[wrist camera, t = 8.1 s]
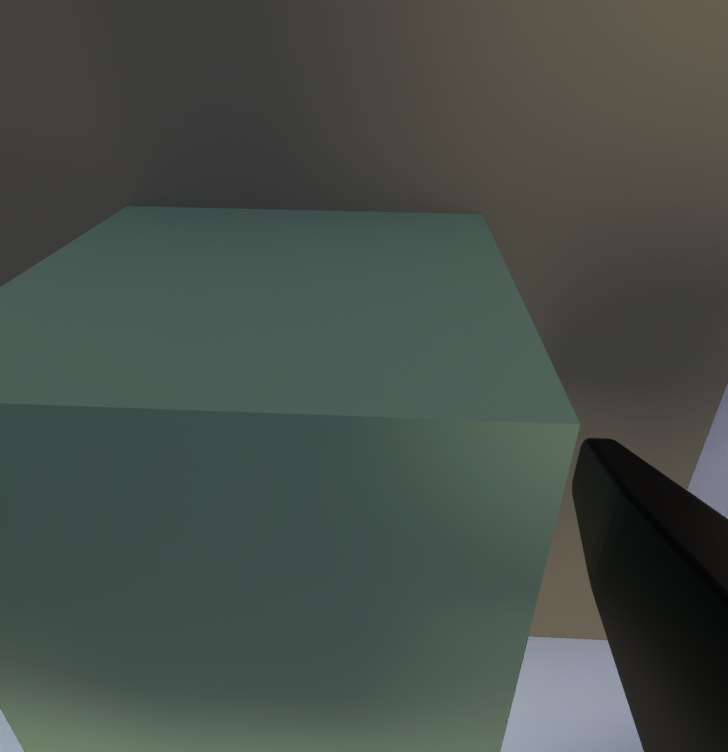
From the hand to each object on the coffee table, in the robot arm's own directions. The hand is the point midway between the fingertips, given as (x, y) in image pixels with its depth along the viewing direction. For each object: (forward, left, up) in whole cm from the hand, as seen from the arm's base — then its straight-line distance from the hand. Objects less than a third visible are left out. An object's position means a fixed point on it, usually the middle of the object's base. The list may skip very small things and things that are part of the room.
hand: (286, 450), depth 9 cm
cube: (0, 0, -3) cm, 3 cm away
